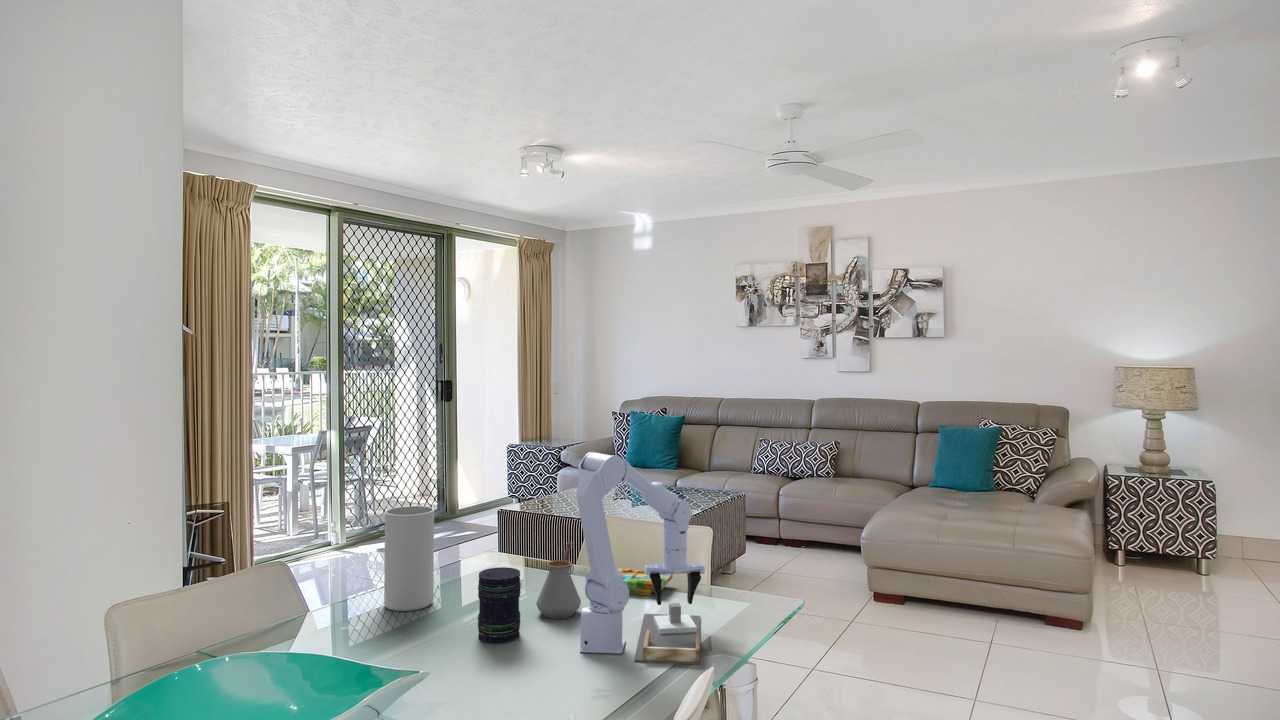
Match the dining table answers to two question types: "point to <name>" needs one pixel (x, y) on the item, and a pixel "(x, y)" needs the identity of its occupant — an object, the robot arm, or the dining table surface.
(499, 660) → the dining table surface
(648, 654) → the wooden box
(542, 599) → the grey faceted twig vase
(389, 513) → the cylinder vase
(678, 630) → the cover plate
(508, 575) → the storage jar
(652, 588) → the puzzle game
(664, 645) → the rubber mat
